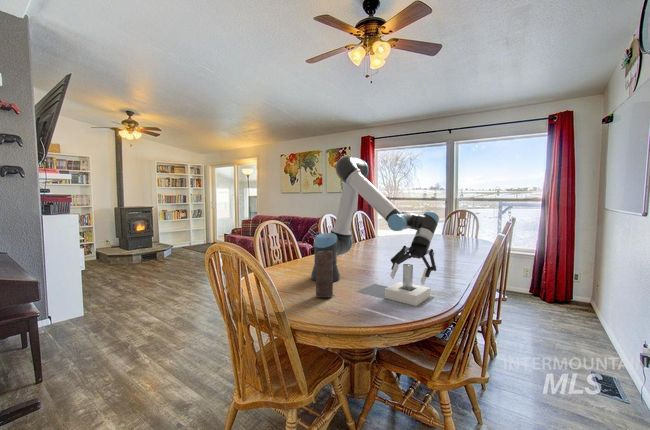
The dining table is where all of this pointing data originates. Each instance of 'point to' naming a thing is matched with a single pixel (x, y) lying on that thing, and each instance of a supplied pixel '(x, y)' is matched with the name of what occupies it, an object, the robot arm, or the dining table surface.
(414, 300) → the hole block
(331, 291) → the candle
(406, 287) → the pin
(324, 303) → the dining table surface
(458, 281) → the dining table surface
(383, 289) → the mat
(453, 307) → the dining table surface
